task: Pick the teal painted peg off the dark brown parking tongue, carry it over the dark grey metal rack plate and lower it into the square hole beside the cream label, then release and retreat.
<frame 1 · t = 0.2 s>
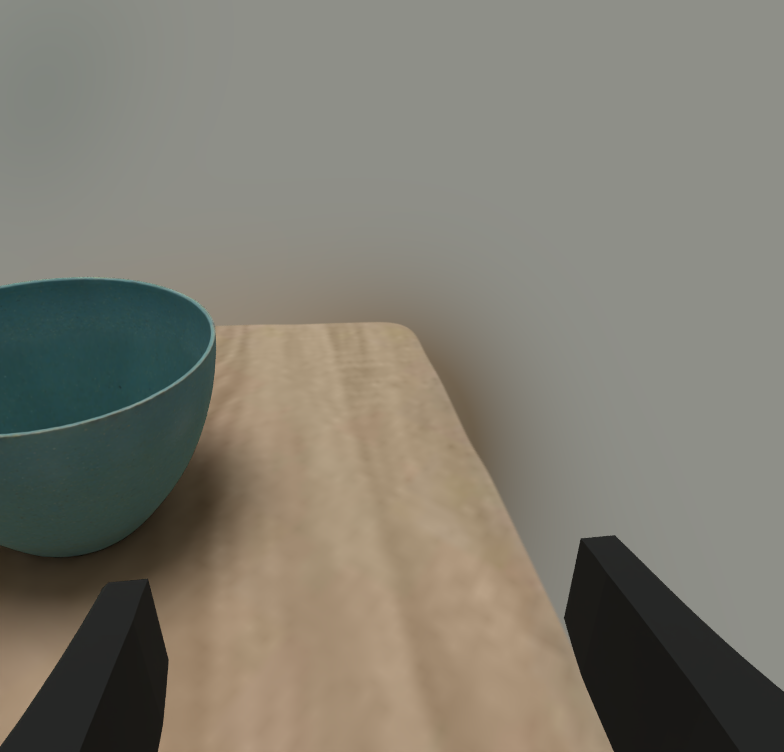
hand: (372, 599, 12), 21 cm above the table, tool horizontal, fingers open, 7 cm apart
teal bowl: (85, 512, 45), on the table
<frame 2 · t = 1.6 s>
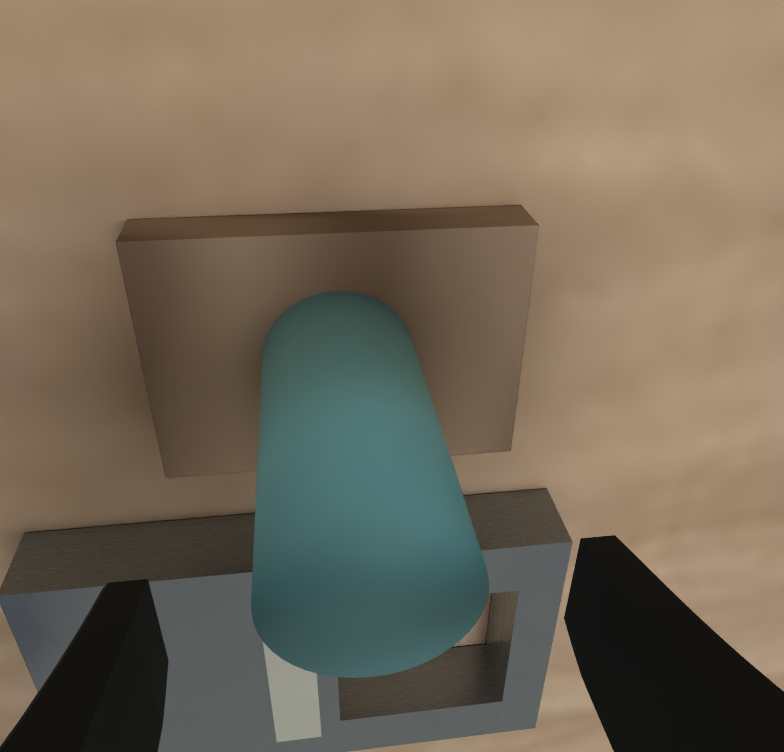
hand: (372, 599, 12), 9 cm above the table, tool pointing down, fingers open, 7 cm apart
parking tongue: (335, 333, 20), on the table
peg: (339, 360, 18), point 1 cm above the table, touching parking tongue
rack plate: (305, 611, 26), on the table
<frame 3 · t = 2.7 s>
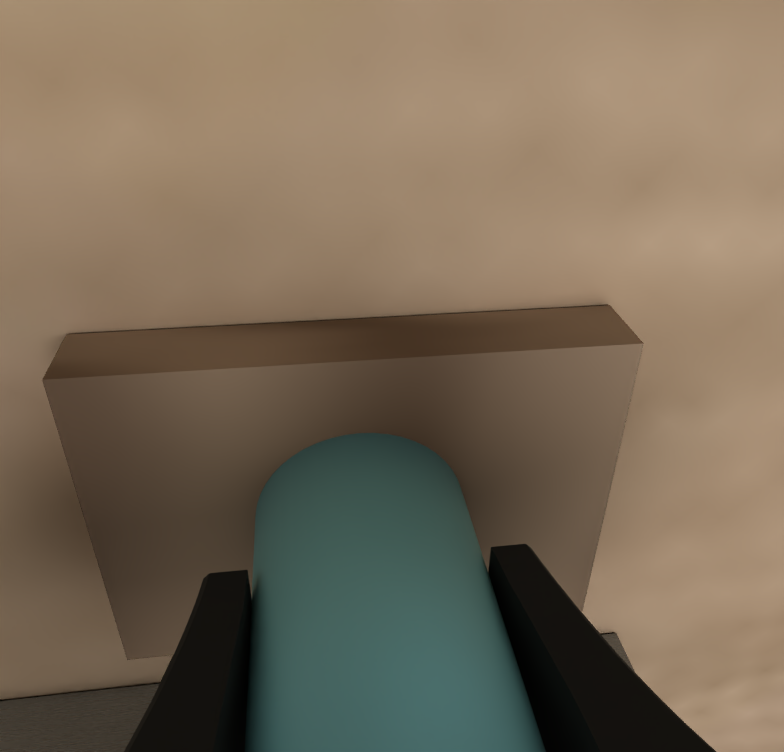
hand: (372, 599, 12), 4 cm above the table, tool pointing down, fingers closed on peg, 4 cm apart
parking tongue: (354, 467, 15), on the table
peg: (360, 516, 14), point 1 cm above the table, touching gripper, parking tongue
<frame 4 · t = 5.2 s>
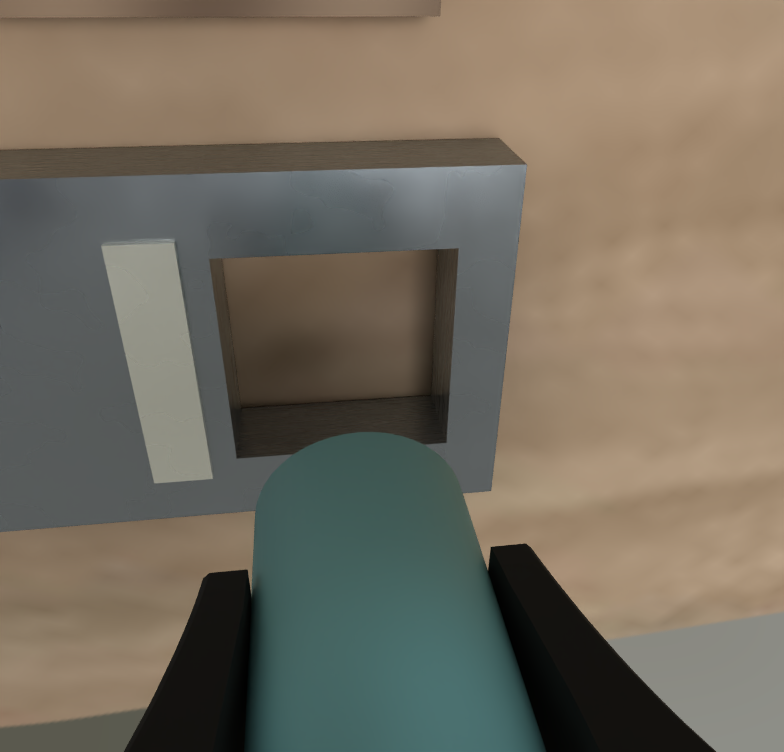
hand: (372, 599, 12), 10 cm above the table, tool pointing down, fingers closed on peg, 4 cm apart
peg: (360, 515, 14), point 8 cm above the table, touching gripper
rack plate: (194, 324, 20), on the table
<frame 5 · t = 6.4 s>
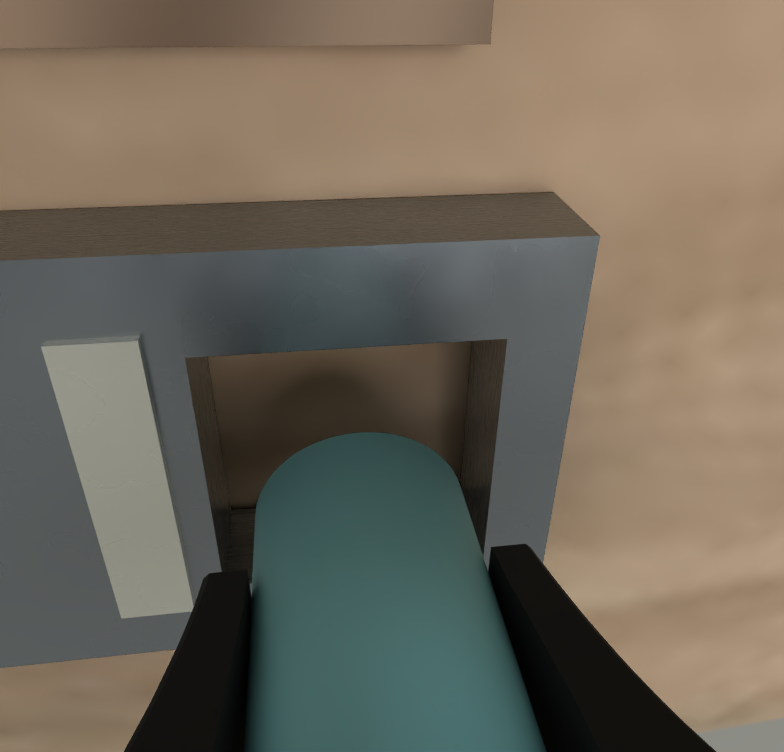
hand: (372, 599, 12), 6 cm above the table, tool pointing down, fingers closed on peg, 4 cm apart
peg: (360, 516, 14), point 4 cm above the table, touching gripper
rack plate: (172, 417, 16), on the table
when the fingers open (3 cm above the table, at t = 7.5 s): peg drops 1 cm, resting in rack plate.
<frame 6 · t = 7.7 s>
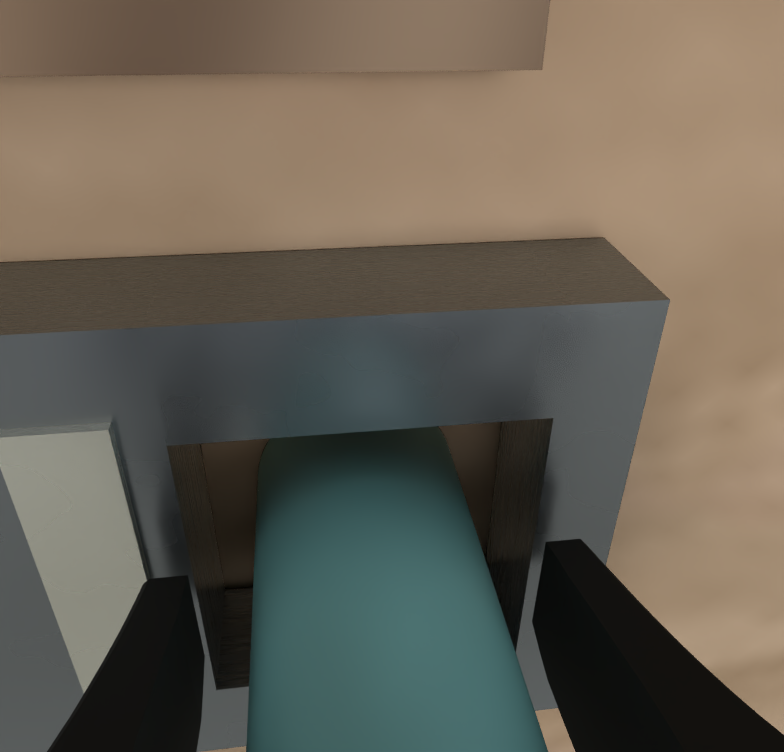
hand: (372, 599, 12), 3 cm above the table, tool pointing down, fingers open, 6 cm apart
peg: (356, 474, 15), resting in rack plate
rack plate: (156, 492, 14), on the table
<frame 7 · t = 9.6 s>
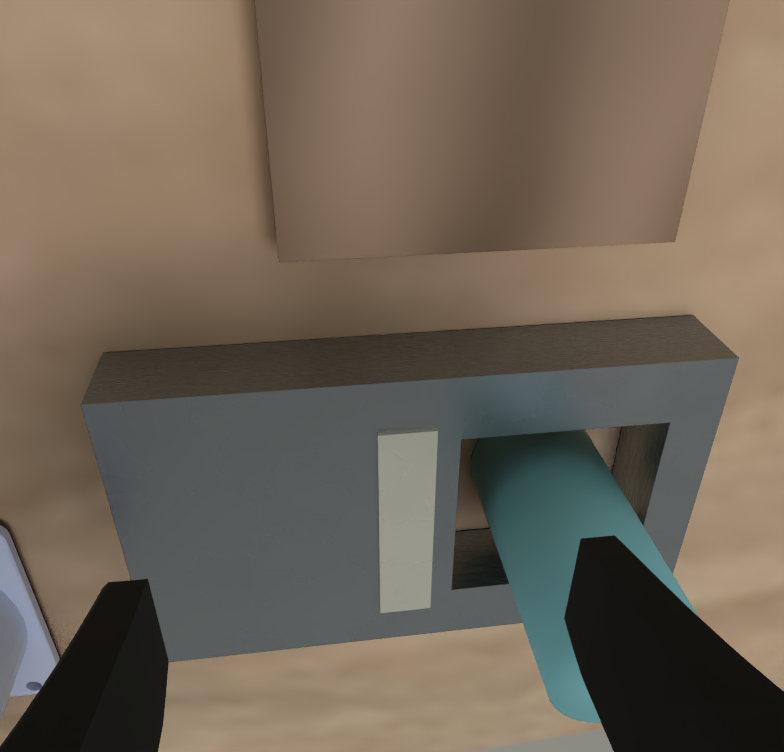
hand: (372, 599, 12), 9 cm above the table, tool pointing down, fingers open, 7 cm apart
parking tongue: (478, 89, 17), on the table
peg: (529, 458, 23), resting in rack plate
rack plate: (409, 469, 23), on the table
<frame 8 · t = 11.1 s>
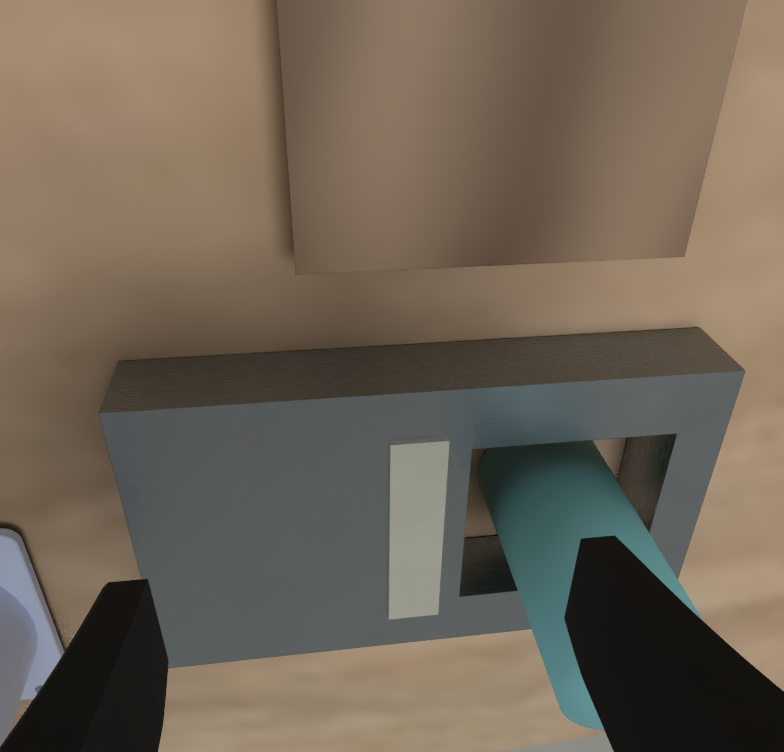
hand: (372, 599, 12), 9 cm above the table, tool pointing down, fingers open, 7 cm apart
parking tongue: (493, 106, 17), on the table
peg: (536, 466, 23), resting in rack plate
rack plate: (418, 476, 23), on the table
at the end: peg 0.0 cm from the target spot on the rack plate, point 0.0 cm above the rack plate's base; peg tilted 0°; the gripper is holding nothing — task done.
